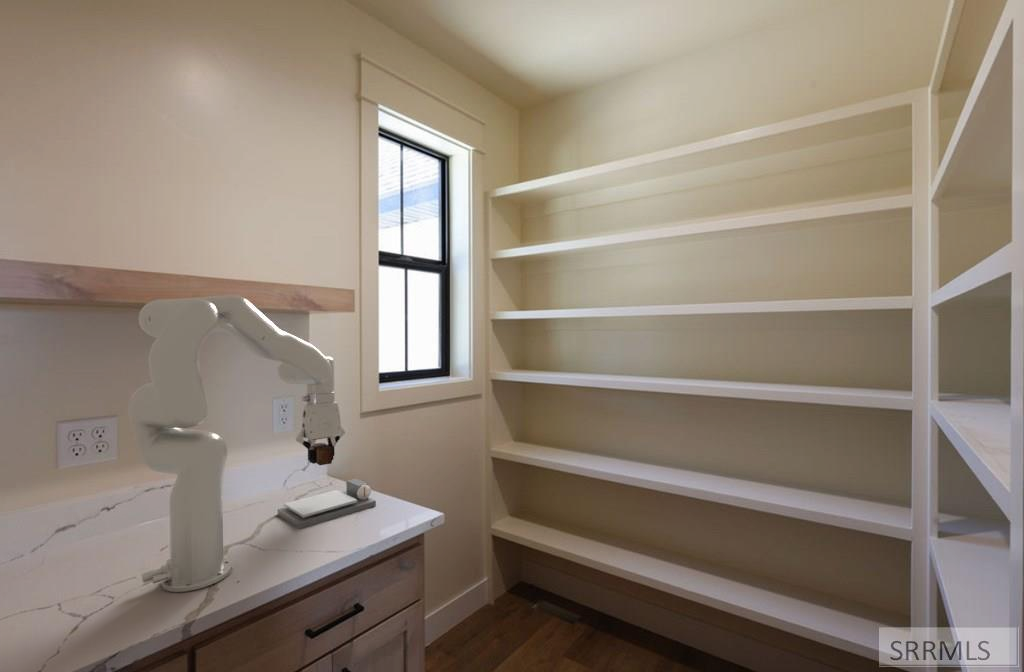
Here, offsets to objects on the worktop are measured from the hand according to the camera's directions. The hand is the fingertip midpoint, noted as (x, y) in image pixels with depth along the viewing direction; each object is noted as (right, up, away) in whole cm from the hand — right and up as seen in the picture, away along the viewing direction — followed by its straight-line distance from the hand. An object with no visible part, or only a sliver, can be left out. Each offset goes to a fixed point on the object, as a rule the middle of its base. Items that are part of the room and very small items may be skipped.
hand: (321, 460), depth 139 cm
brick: (0, 0, 0) cm, 0 cm away
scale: (+1, -15, +2) cm, 16 cm away
